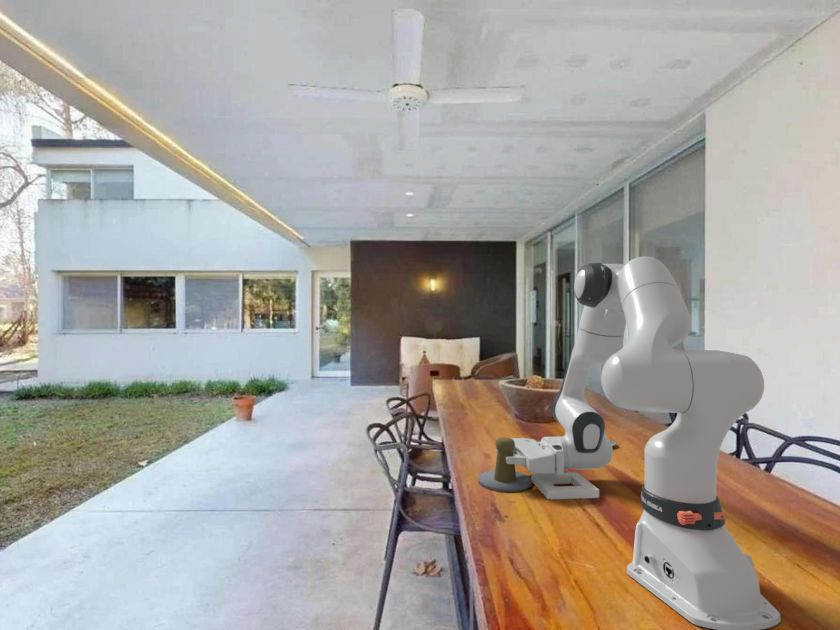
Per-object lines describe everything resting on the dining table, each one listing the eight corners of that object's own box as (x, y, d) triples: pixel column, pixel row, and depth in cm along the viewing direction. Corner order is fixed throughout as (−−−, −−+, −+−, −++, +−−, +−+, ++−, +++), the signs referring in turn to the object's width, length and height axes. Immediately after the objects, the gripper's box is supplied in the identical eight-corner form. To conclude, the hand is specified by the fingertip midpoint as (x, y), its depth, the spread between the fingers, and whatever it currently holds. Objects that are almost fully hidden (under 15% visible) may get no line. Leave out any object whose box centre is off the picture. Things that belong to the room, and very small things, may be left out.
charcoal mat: (538, 491, 119) (538, 487, 119) (484, 492, 118) (484, 488, 118) (522, 472, 133) (522, 469, 133) (474, 474, 132) (474, 470, 132)
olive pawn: (515, 484, 122) (515, 442, 122) (492, 481, 124) (492, 440, 124) (517, 476, 127) (517, 436, 127) (495, 474, 129) (495, 434, 129)
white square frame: (599, 497, 115) (599, 489, 115) (547, 499, 114) (547, 491, 114) (577, 479, 128) (577, 472, 128) (531, 480, 127) (531, 473, 127)
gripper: (538, 432, 137) (492, 433, 136) (565, 452, 117) (511, 453, 116) (538, 453, 137) (492, 454, 136) (565, 477, 117) (511, 479, 116)
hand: (501, 454), depth 126 cm, fingers open, 8 cm apart
